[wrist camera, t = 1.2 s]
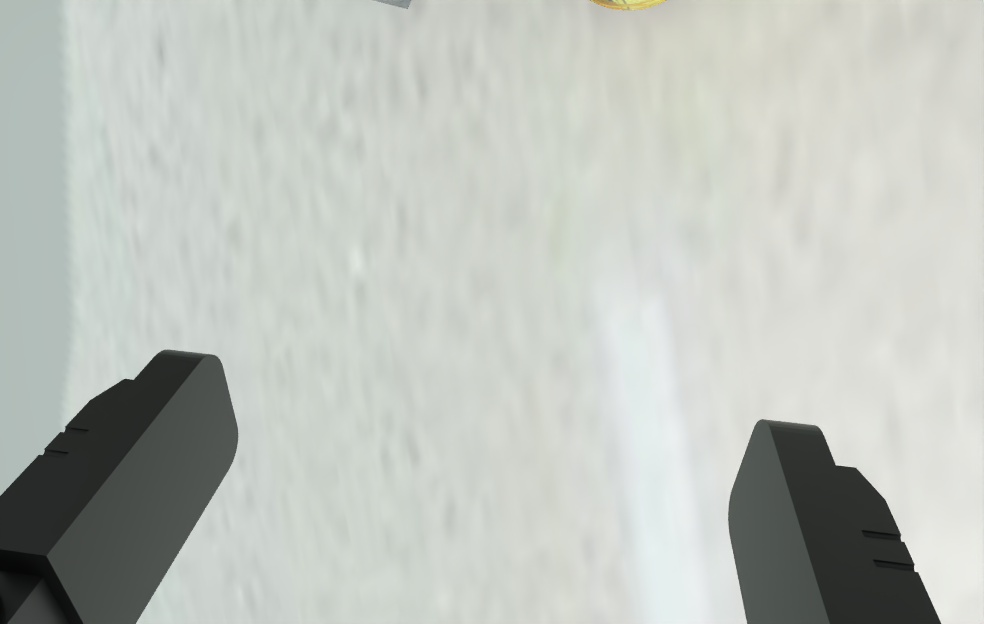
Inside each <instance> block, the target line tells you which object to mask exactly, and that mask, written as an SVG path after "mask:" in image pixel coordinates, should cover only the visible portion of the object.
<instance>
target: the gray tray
mask: <svg viewBox="0 0 984 624" xmlns="http://www.w3.org/2000/svg"><path fill="white" fill-rule="evenodd" d="M374 1H378V2H382V3H386V4H390V5H394V6H398V7H402V8H406V9H408V7H409V4H410V1H411V0H374Z"/></svg>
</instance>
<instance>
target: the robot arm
mask: <svg viewBox="0 0 984 624" xmlns="http://www.w3.org/2000/svg"><path fill="white" fill-rule="evenodd" d="M65 428H66V429H65V432H64V433H63V432H60V433H59V434H58V435H57V436H56V437H55V438H54V439H53V441H52V442H51V443H50V444H49V445H48V446H47V447H46V448H45V452H44V454H43V455H38V456H37V458H36V459H35V460H34V461H33V462H32V463H31V464H30V465H29V466H28V467H27V468H26V469H25V470H24V471H23V472H22V474H21V475H20V476H19V477H18V478H17V479H16V480H15V481H14V482H13V483H12V484H11V485H10V486H9V487H8V488H7V489H6V491H5V492H4V493H3V494H2V495H1V496H0V624H136V622H137V621H138V619H139V617H140V616H141V614H142V612H143V611H144V609H145V607H146V606H147V604H148V602H149V601H150V599H151V597H152V596H153V594H154V592H155V591H156V589H157V587H158V586H159V584H160V583H161V581H162V579H163V578H164V576H165V574H166V573H167V571H168V569H169V568H170V566H171V564H172V563H173V561H174V559H175V558H176V556H177V554H178V553H179V551H180V549H181V548H182V546H183V544H184V543H185V541H186V540H187V538H188V536H189V535H190V533H191V531H192V530H193V528H194V526H195V525H196V523H197V521H198V520H199V518H200V516H201V515H202V513H203V511H204V510H205V508H206V506H207V505H208V503H209V501H210V500H211V498H212V497H213V495H214V493H215V492H216V490H217V488H218V487H219V485H220V483H221V482H222V480H223V478H224V477H225V475H226V473H227V472H228V470H229V468H230V466H231V464H232V462H233V460H234V457H235V453H236V449H237V444H238V427H237V423H236V419H235V415H234V410H233V406H232V402H231V398H230V394H229V390H228V386H227V382H226V378H225V374H224V370H223V366H222V363H221V361H220V359H219V358H218V357H217V356H215V355H211V354H202V353H193V352H184V351H176V350H163V351H161V352H159V353H158V354H157V355H156V356H155V357H154V358H153V359H152V360H151V361H150V362H149V363H148V364H147V366H146V367H145V368H144V369H143V370H142V371H141V372H140V373H139V375H138V376H137V377H136V378H135V379H134V380H130V379H124V380H122V381H121V382H119V383H117V384H116V385H114V386H112V387H111V388H109V389H108V390H106V391H104V392H103V393H101V394H100V395H98V396H96V397H95V398H93V399H91V400H90V401H89V402H88V403H87V404H86V405H85V406H84V407H83V409H82V410H81V411H80V412H79V413H78V414H77V415H76V416H75V417H74V418H73V419H72V420H71V421H70V422H69V423H68V425H67V426H66V427H65ZM728 521H729V533H730V539H731V544H732V549H733V554H734V559H735V564H736V569H737V574H738V579H739V584H740V589H741V594H742V599H743V604H744V609H745V614H746V619H747V624H941V622H940V620H939V618H938V615H937V613H936V611H935V609H934V607H933V604H932V602H931V600H930V598H929V596H928V593H927V591H926V589H925V587H924V585H923V582H922V580H921V578H920V576H919V573H918V572H915V571H914V562H913V560H912V558H911V556H910V554H909V551H908V549H907V547H906V545H905V543H904V542H901V539H900V537H901V534H900V531H899V529H898V527H897V525H896V523H895V520H894V518H893V516H892V514H891V512H890V509H889V507H888V505H887V503H886V501H885V499H884V498H883V497H882V496H881V495H880V494H879V493H878V491H877V490H876V489H875V488H874V487H873V486H872V485H871V484H870V483H869V482H868V481H867V479H866V478H865V477H864V476H863V475H862V474H861V473H860V472H859V471H858V470H857V469H856V468H853V467H845V466H836V465H835V462H834V460H833V457H832V455H831V452H830V450H829V447H828V445H827V442H826V440H825V437H824V435H823V433H822V431H821V430H820V428H819V427H817V426H815V425H807V424H798V423H790V422H781V421H772V420H763V419H762V420H759V421H758V422H757V424H756V425H755V427H754V430H753V432H752V435H751V438H750V441H749V443H748V446H747V449H746V452H745V455H744V457H743V460H742V463H741V466H740V469H739V471H738V474H737V477H736V480H735V483H734V485H733V488H732V491H731V496H730V501H729V513H728Z"/></svg>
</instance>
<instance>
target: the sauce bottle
mask: <svg viewBox="0 0 984 624" xmlns="http://www.w3.org/2000/svg"><path fill="white" fill-rule="evenodd" d="M590 1H592V2H594V3H596V4H599V5H601V6H604V7H608V8H612V9H618V10H638V9H644V8H647V7H651V6H654V5H656V4H659V3H662V2H664V1H666V0H590Z"/></svg>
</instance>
